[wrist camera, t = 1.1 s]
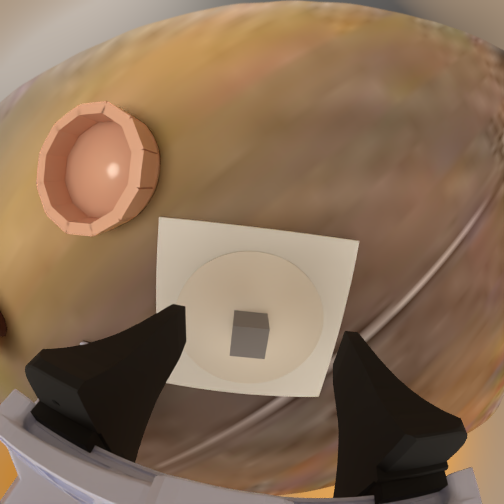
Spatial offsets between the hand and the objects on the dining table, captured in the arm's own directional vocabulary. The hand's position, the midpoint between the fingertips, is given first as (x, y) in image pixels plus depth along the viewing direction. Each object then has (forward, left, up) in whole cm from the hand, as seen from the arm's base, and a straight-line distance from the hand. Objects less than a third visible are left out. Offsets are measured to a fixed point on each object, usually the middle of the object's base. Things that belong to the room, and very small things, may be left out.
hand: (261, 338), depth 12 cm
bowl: (+7, +15, -13) cm, 21 cm away
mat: (-6, 0, -13) cm, 15 cm away
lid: (-6, 0, -13) cm, 14 cm away
